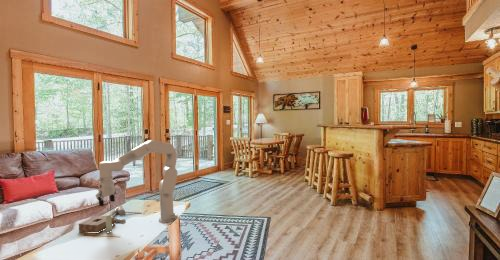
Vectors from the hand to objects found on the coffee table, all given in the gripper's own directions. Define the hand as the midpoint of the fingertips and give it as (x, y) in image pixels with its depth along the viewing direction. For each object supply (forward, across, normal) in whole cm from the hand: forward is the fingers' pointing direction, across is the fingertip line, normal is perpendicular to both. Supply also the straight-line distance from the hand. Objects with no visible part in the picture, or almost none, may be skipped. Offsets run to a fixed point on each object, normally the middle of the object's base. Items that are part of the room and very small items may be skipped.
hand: (107, 203), depth 179 cm
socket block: (+20, +4, +14) cm, 25 cm away
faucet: (+21, +28, +9) cm, 36 cm away
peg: (+20, 0, 0) cm, 20 cm away
